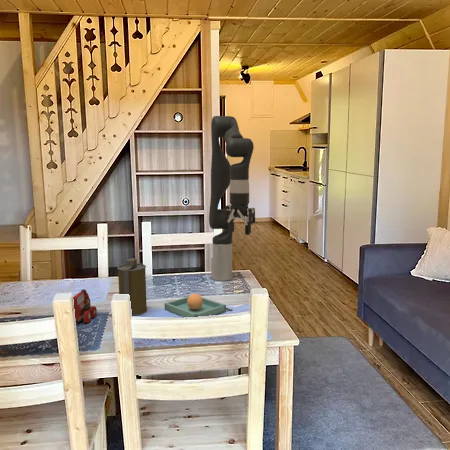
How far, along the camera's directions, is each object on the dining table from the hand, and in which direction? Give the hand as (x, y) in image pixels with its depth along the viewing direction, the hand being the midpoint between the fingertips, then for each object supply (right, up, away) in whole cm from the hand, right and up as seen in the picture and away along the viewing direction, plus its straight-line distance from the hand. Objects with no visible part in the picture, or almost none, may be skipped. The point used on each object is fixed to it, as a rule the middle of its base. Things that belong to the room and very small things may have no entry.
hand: (239, 233), depth 170 cm
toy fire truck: (-57, -31, -12) cm, 66 cm away
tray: (-17, -29, -4) cm, 34 cm away
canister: (-40, -30, -4) cm, 50 cm away
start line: (-9, -28, +2) cm, 30 cm away
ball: (-17, -26, -4) cm, 31 cm away
